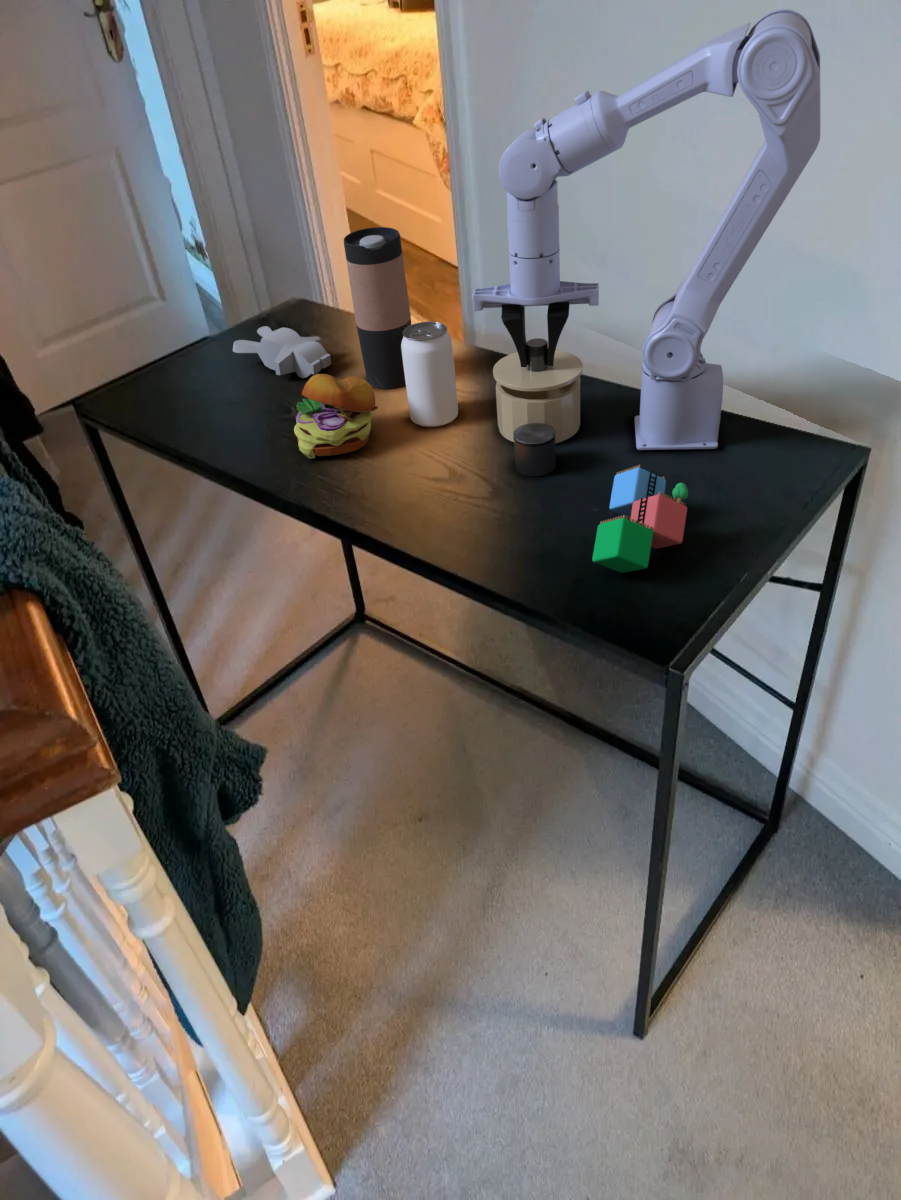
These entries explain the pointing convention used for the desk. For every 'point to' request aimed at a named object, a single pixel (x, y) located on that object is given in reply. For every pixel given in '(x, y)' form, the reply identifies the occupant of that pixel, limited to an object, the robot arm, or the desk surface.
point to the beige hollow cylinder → (539, 409)
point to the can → (429, 374)
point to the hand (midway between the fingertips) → (537, 363)
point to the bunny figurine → (287, 351)
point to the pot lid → (537, 369)
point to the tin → (534, 449)
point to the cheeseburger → (334, 415)
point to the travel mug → (379, 302)
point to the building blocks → (639, 520)
